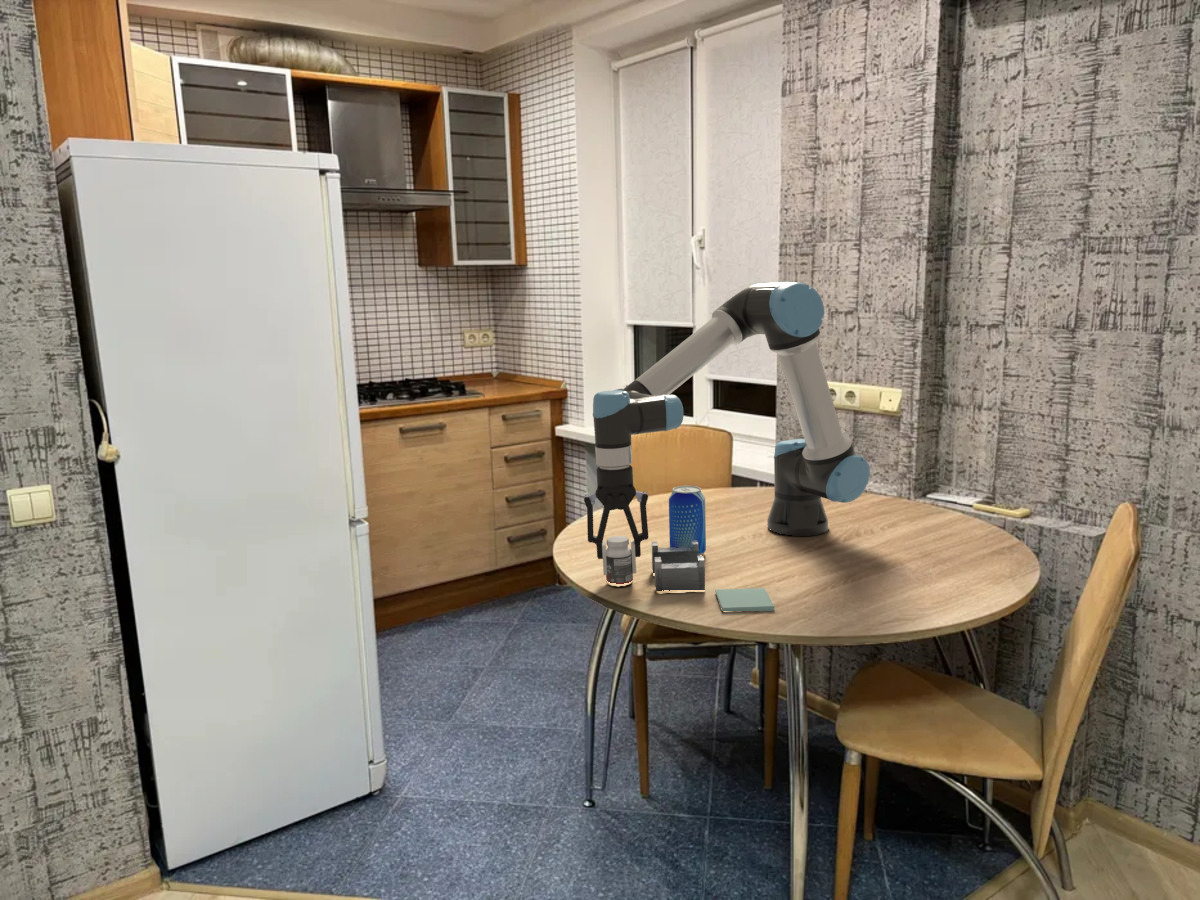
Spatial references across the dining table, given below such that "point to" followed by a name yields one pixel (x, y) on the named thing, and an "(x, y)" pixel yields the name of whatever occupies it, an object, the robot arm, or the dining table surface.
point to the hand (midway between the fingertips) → (619, 571)
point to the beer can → (687, 517)
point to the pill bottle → (619, 560)
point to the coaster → (744, 599)
